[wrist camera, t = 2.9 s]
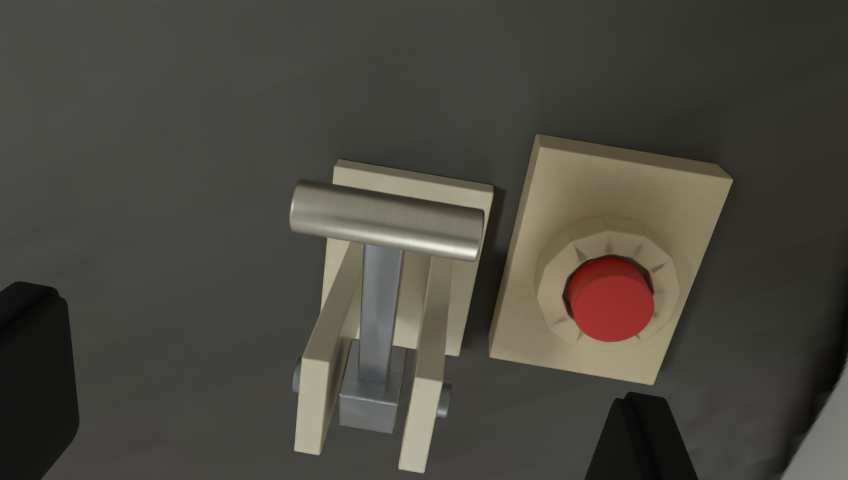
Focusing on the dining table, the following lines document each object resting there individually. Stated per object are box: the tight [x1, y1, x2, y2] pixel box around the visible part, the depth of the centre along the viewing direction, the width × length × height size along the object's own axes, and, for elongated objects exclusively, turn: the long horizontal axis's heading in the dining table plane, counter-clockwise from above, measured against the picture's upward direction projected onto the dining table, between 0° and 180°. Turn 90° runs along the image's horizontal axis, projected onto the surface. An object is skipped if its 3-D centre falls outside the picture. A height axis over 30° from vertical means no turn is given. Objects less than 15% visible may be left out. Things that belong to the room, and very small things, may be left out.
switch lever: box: [289, 179, 485, 433], centre depth 21 cm, size 12×5×2 cm, turn 171°
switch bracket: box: [292, 159, 494, 473], centre depth 29 cm, size 10×8×13 cm
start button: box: [569, 258, 654, 342], centre depth 30 cm, size 4×4×2 cm
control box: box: [489, 134, 733, 385], centre depth 32 cm, size 12×9×4 cm
